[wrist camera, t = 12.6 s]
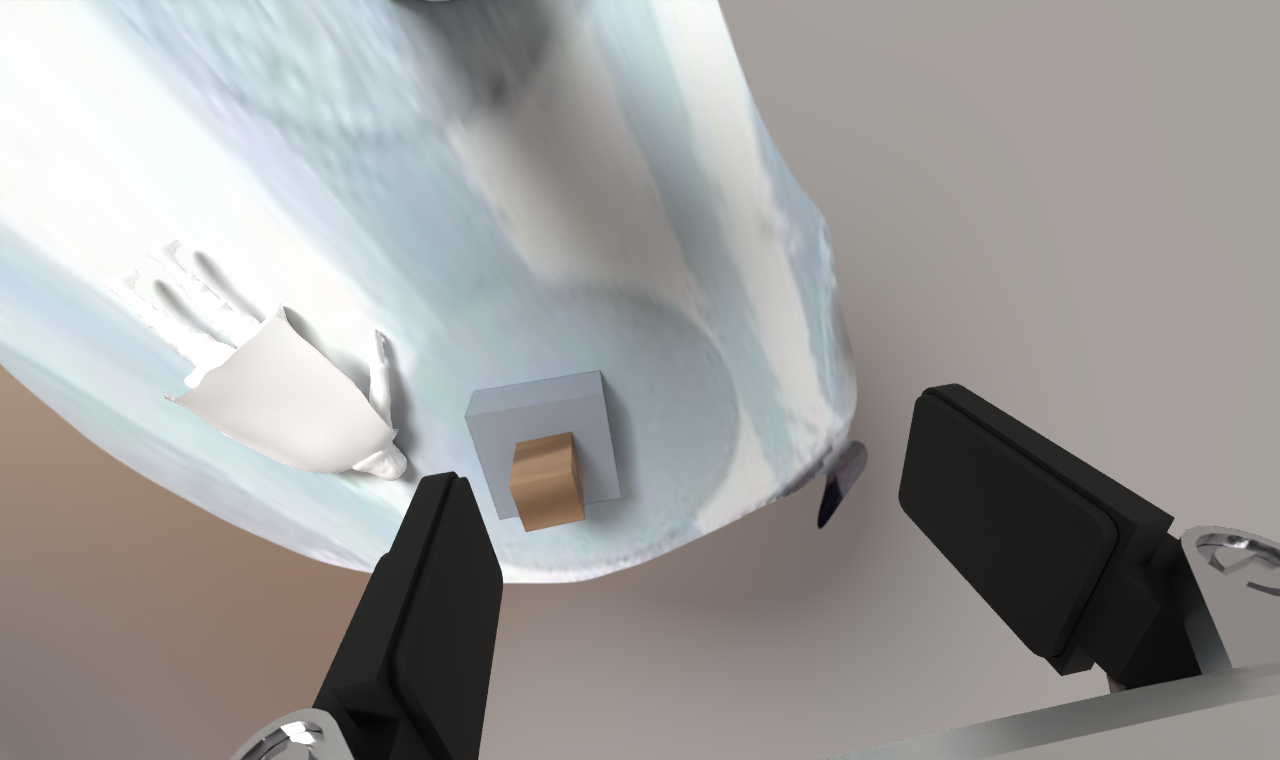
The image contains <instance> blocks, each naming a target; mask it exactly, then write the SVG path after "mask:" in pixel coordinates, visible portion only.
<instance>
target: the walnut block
mask: <svg viewBox="0 0 1280 760" xmlns="http://www.w3.org/2000/svg"><path fill="white" fill-rule="evenodd" d="M509 489H510V492H511V494H512V497H513V500H514V502H515V505H516V507H517V510H518V513H519V515H520V518H521V521H522V523H523V526H524V529H525V531H526V532H529V531H534V530H538V529H543V528H548V527H552V526H557V525H561V524H566V523H571V522H575V521H580V520H584V519H585V512H584V485H583V473H582V469H581V465H580V462H579V458H578V454H577V451H576V447H575V444H574V440H573V436H572V433H571V432H567V433H562V434H557V435H552V436H548V437H543V438H538V439H533V440H529V441H524V442H519V443H516V448H515V453H514V459H513V464H512V470H511V475H510V481H509Z"/></svg>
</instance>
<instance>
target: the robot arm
mask: <svg viewBox="0 0 1280 760" xmlns="http://www.w3.org/2000/svg"><path fill="white" fill-rule="evenodd" d="M427 1H450V0H427ZM899 502H900V505H901V507H902V509H903V510H904V512H905V513H906V514H907V515H908V516H909V517H910V518H911V519H912V521H913V522H914V523H915V524H916V525H917V526H918V527H919V528H920V529H921V531H922V532H923V533H924V534H925V535H926V536H927V537H928V538H929V539H930V540H931V541H932V542H933V543H934V545H935V546H936V547H937V548H938V549H939V550H940V551H941V553H942V554H943V555H944V556H945V557H946V558H947V559H948V560H949V561H950V562H951V564H953V566H954V567H955V568H956V569H957V570H958V571H959V572H960V573H961V575H962V576H963V577H964V578H965V579H966V580H967V581H968V582H969V583H970V584H971V586H972V587H973V588H974V589H975V590H976V591H977V592H978V593H979V594H980V596H982V598H983V599H984V600H985V601H986V602H987V603H988V604H989V605H990V606H991V608H992V609H993V610H994V611H995V612H996V613H997V614H998V615H999V616H1000V618H1001V619H1002V620H1003V621H1004V622H1005V623H1006V624H1007V625H1008V626H1009V628H1010V629H1011V630H1012V631H1013V632H1014V633H1015V634H1016V635H1017V636H1018V637H1019V638H1020V640H1022V642H1023V643H1024V644H1025V645H1026V646H1027V647H1028V648H1029V649H1030V650H1031V651H1032V652H1033V653H1034V654H1036V655H1038V656H1040V657H1043V658H1045V659H1046V660H1047V661H1048V662H1049V663H1050V664H1051V666H1052V667H1053V668H1054V669H1055V670H1056V671H1057V672H1058V673H1059V674H1060V675H1061V676H1064V675H1068V674H1073V673H1077V672H1082V671H1086V670H1091V668H1092V666H1093V664H1094V663H1095V662H1096V663H1097V664H1098V665H1099V666H1100V667H1101V668H1102V669H1103V670H1104V671H1105V672H1106V673H1107V679H1108V684H1109V689H1110V694H1108V695H1104V696H1099V697H1095V698H1090V699H1086V700H1081V701H1077V702H1072V703H1068V704H1063V705H1059V706H1054V707H1050V708H1045V709H1040V710H1036V711H1032V712H1027V713H1022V714H1018V715H1013V716H1009V717H1004V718H1000V719H995V720H991V721H986V722H982V723H977V724H973V725H969V726H964V727H960V728H955V729H951V730H946V731H942V732H938V733H933V734H929V735H924V736H920V737H916V738H911V739H907V740H902V741H898V742H894V743H889V744H885V745H880V746H877V747H872V748H867V749H863V750H858V751H854V752H850V753H845V754H842V755H837V756H832V757H828V758H824V759H819V760H1280V544H1279V543H1277V542H1274V541H1272V540H1269V539H1267V538H1264V537H1262V536H1259V535H1255V534H1252V533H1248V532H1245V531H1241V530H1238V529H1232V528H1225V527H1219V526H1197V527H1194V528H1191V529H1187V530H1186V531H1185V532H1184V533H1183V535H1182V536H1181V537H1180V539H1179V540H1178V539H1176V538H1174V537H1173V536H1171V535H1170V534H1168V533H1167V531H1168V529H1169V527H1170V526H1171V524H1172V522H1173V520H1174V517H1173V516H1171V515H1169V514H1168V513H1166V512H1164V511H1163V510H1161V509H1160V508H1158V507H1156V506H1155V505H1153V504H1152V503H1150V502H1148V501H1147V500H1145V499H1144V498H1142V497H1140V496H1139V495H1137V494H1136V493H1134V492H1132V491H1131V490H1129V489H1127V488H1126V487H1124V486H1123V485H1121V484H1119V483H1118V482H1116V481H1115V480H1113V479H1111V478H1110V477H1108V476H1106V475H1105V474H1103V473H1102V472H1100V471H1098V470H1097V469H1095V468H1094V467H1092V466H1090V465H1089V464H1087V463H1086V462H1084V461H1082V460H1081V459H1079V458H1078V457H1076V456H1074V455H1073V454H1071V453H1070V452H1068V451H1066V450H1065V449H1063V448H1061V447H1060V446H1058V445H1057V444H1055V443H1053V442H1052V441H1050V440H1049V439H1047V438H1045V437H1044V436H1042V435H1040V434H1039V433H1037V432H1036V431H1034V430H1032V429H1031V428H1029V427H1028V426H1026V425H1024V424H1023V423H1021V422H1020V421H1018V420H1016V419H1015V418H1013V417H1012V416H1010V415H1008V414H1007V413H1005V412H1004V411H1002V410H1000V409H999V408H997V407H995V406H994V405H992V404H991V403H989V402H987V401H986V400H984V399H982V398H981V397H979V396H978V395H976V394H974V393H973V392H971V391H970V390H968V389H966V388H965V387H963V386H961V385H959V384H948V385H942V386H937V387H931V388H927V389H926V390H924V391H923V393H922V395H921V396H920V397H918V399H917V400H916V402H915V407H914V412H913V418H912V423H911V429H910V434H909V440H908V445H907V450H906V456H905V462H904V467H903V473H902V478H901V483H900V489H899ZM502 591H503V576H502V571H501V568H500V565H499V563H498V560H497V557H496V554H495V552H494V549H493V546H492V544H491V541H490V538H489V535H488V533H487V530H486V527H485V524H484V522H483V519H482V516H481V513H480V511H479V508H478V505H477V502H476V500H475V497H474V494H473V491H472V489H471V486H470V483H469V481H468V479H467V478H466V477H461V478H459V477H458V475H457V474H456V473H455V472H453V471H452V472H447V473H441V474H435V475H430V476H425V477H423V478H422V479H421V481H420V483H419V485H418V487H417V489H416V492H415V494H414V496H413V499H412V501H411V503H410V506H409V508H408V510H407V512H406V515H405V517H404V519H403V522H402V524H401V526H400V529H399V531H398V533H397V535H396V538H395V540H394V542H393V545H392V547H391V549H390V551H389V553H386V554H385V555H383V556H382V557H381V558H380V560H379V562H378V563H377V565H376V567H375V569H374V572H373V574H372V576H371V578H370V580H369V583H368V585H367V587H366V589H365V592H364V594H363V596H362V598H361V600H360V603H359V605H358V607H357V609H356V611H355V614H354V616H353V618H352V620H351V622H350V625H349V627H348V629H347V631H346V634H345V636H344V638H343V640H342V643H341V644H340V647H339V649H338V651H337V653H336V656H335V658H334V660H333V662H332V664H331V667H330V669H329V671H328V673H327V675H326V678H325V680H324V682H323V684H322V686H321V689H320V691H319V693H318V695H317V698H316V700H315V702H314V704H313V706H312V709H305V710H298V711H295V712H293V713H290V714H288V715H285V716H283V717H280V718H278V719H277V720H275V721H274V722H272V723H271V724H269V725H267V726H266V727H264V728H263V729H261V730H260V731H258V732H257V733H256V734H255V735H254V736H253V737H252V738H250V739H249V740H248V741H247V742H246V743H245V744H243V745H242V746H241V747H240V748H239V749H238V750H237V752H236V753H235V754H234V755H233V756H232V757H231V758H230V760H478V756H479V748H480V742H481V735H482V728H483V722H484V715H485V708H486V701H487V694H488V686H489V680H490V674H491V667H492V660H493V653H494V645H495V639H496V633H497V632H496V631H497V626H498V619H499V612H500V605H501V598H502Z"/></svg>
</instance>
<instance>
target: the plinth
mask: <svg viewBox="0 0 1280 760" xmlns="http://www.w3.org/2000/svg"><path fill="white" fill-rule="evenodd" d="M465 419H466V422H467V425H468V428H469V431H470V434H471V437H472V440H473V443H474V446H475V449H476V452H477V455H478V458H479V461H480V464H481V467H482V470H483V473H484V476H485V478H486V481H487V484H488V487H489V490H490V493H491V496H492V499H493V502H494V505H495V508H496V511H497V514H498V517H499V520H502V519H507V518H513V517H518V516H520V515H519V513H518V510H517V507H516V505H515V502H514V500H513V497H512V494H511V492H510V489H509V481H510V475H511V470H512V464H513V459H514V453H515V448H516V443H519V442H524V441H529V440H533V439H538V438H543V437H548V436H552V435H557V434H562V433H567V432H571V433H572V436H573V440H574V444H575V447H576V451H577V454H578V458H579V462H580V465H581V469H582V473H583V485H584V504H590V503H596V502H601V501H607V500H612V499H618V498H621V495H620V488H619V481H618V474H617V468H616V462H615V456H614V450H613V444H612V438H611V433H610V427H609V421H608V415H607V409H606V403H605V398H604V392H603V386H602V380H601V374H600V371H593V372H587V373H581V374H575V375H569V376H563V377H556V378H550V379H544V380H538V381H532V382H526V383H519V384H513V385H507V386H501V387H495V388H488V389H482V390H476V391H474V392H473V395H472V397H471V400H470V403H469V405H468V408H467V410H466V413H465Z"/></svg>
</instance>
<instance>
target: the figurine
mask: <svg viewBox="0 0 1280 760" xmlns="http://www.w3.org/2000/svg"><path fill="white" fill-rule="evenodd" d="M179 247H180V242H179V240H177V239H176V238H171V239H168V240H165V241H162V242H159V243H156V244H154V245H152V246H150V247H148V248H146V249H145V250H144V251H145V252H146V253H147V255H149V256H150V257H151V258H153V259H154V260H156V261H157V262H158V263H160V264H161V265H162V266H163V267H165V268H166V269H167V270H168V271H169V272H170V273H171V274H172V275H173V276H174V277H175V278H176V279H177V280H176V283H177V285H179V286H181V287H183V288H184V289H185V291H186V295H187V296H188V297H189V298H191V299H192V300H193V301H194V304H195V307H196V308H197V309H199V310H200V311H202V313H203V317H204V318H207V319H209V320H211V321H212V323H213V324H214V327H215V329H216V330H217V331H219V332H221V333H223V334H225V335H226V336H228V337H229V338H230V339H231V340H232V342H233V344H234V345H236V346H238V348H237V349H235V348H233V347H232V346H231V345H226V344H223V343H220V342H217V341H215V340H214V339H213V338H212V337H211V336H210V335H208V334H198V333H197V332H195V331H194V330H193V329H192V328H191V327H189V326H184V325H183V324H182V323H181V322H180V321H178V320H177V319H174V318H171V317H170V316H169V314H168V313H166V312H165V311H160V310H158V309H157V308H156V307H155V306H154V305H153V303H149V302H147V301H146V300H145V299H144V298H143V297H142V296H140V295H139V294H138V293H137V292H136V291H135V289H134V282H135V281H136V279H138V278H139V276H140V274H139V272H138V271H137V270H135V269H130V270H127V271H124V272H122V273H119V274H116V275H114V276H111V277H109V278H107V279H105V280H104V281H103V282H101V283H102V284H103V285H104V286H105V287H106V288H108V289H109V290H111V291H112V292H114V293H115V294H117V295H118V296H120V297H121V298H122V299H124V300H125V301H126V302H128V303H129V304H130V305H132V306H133V307H134V308H136V314H137V315H139V316H140V317H142V318H143V319H144V320H145V323H146V325H147V326H148V327H150V328H153V329H154V330H155V331H156V332H157V334H158V335H159V336H161V337H162V338H163V339H165V341H166V343H167V344H168V345H171V346H173V347H175V348H176V349H177V350H178V351H179V353H180V355H181V356H183V357H185V358H187V359H189V360H190V362H191V363H192V364H193V365H196V366H197V367H196V369H195V370H194V371H193V372H192V374H191V375H189V376H188V377H186V378H185V380H184V383H185V385H187V386H188V387H190V388H193V389H192V390H190V391H189V392H188V393H186V394H184V395H182V396H180V397H179V398H177V399H175V398H173V397H172V396H171V395H169V394H168V393H166V392H165V396H164V398H165V399H167V400H170V401H172V402H175V403H177V404H179V405H181V406H183V407H185V408H187V409H189V410H191V411H192V412H193V413H195V414H196V415H197V416H198V417H200V418H201V419H202V420H204V421H205V422H206V423H207V424H209V425H211V426H212V427H214V428H216V429H217V430H219V431H221V432H222V433H223V434H224V435H226V436H228V437H230V438H233V439H234V440H236V441H238V442H240V443H242V444H243V445H245V446H247V447H249V448H251V449H253V450H255V451H257V452H259V453H261V454H263V455H265V456H267V457H269V458H272V459H274V460H276V461H278V462H280V463H283V464H285V465H288V466H291V467H294V468H297V469H300V470H304V471H309V472H314V473H331V474H336V473H340V472H343V471H346V470H348V469H351V468H353V469H354V470H356V471H361V472H368V473H371V474H374V475H376V476H378V477H380V478H382V479H385V480H388V481H394V480H396V479H397V478H399V477H400V476H401V475H402V474H403V473H404V471H405V469H406V465H407V460H406V457H405V456H404V455H403V453H402V452H401V451H400V450H399V449H398V448H397V447H396V445H395V444H394V443H393V441H392V440H393V439H394V438H395V436H396V434H397V432H398V430H399V429H393V427H392V421H391V411H390V404H391V399H390V393H389V385H388V378H387V364H385V362H384V349H383V343H382V336H381V334H380V333H379V332H378V330H377V329H375V328H374V327H373V328H372V329H370V331H371V334H372V335H373V336H374V339H373V344H374V350H375V362H372V363H371V365H370V375H371V384H370V391H369V402H368V401H367V399H366V398H365V396H364V395H363V393H362V392H361V391H360V390H359V389H358V388H357V387H356V385H355V384H354V383H353V382H352V381H351V380H350V379H349V378H348V377H347V376H346V375H344V374H343V373H342V372H341V371H340V370H339V369H338V368H336V367H335V366H334V365H333V364H332V363H331V362H330V361H329V360H328V359H326V358H325V357H324V356H323V355H322V354H321V353H320V352H319V351H318V350H317V349H315V348H314V347H313V346H312V345H310V344H309V343H308V342H307V341H306V340H304V339H303V338H302V337H301V336H299V335H298V334H297V333H296V332H295V331H294V329H293V328H292V326H291V325H290V324H289V322H288V320H287V318H286V314H285V311H284V308H283V305H282V304H277V306H276V307H275V309H274V311H273V312H272V314H271V315H270V316H269V317H268V318H267V319H266V320H264V321H263V322H262V323H261V324H260V323H259V322H258V321H257V320H256V319H255V317H253V316H250V315H247V314H245V313H244V312H242V311H235V310H233V309H232V308H230V306H229V304H228V303H227V302H226V301H224V300H222V299H221V298H220V297H219V296H218V295H217V294H216V293H215V292H214V291H213V290H211V289H210V288H209V286H208V285H207V284H205V283H203V282H201V281H200V280H199V279H198V278H197V276H196V275H195V274H194V273H188V272H187V271H186V270H185V269H184V268H183V267H182V266H181V265H180V264H179V262H178V261H177V260H176V258H175V251H176V250H177V249H178V248H179ZM369 403H370V404H369Z"/></svg>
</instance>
